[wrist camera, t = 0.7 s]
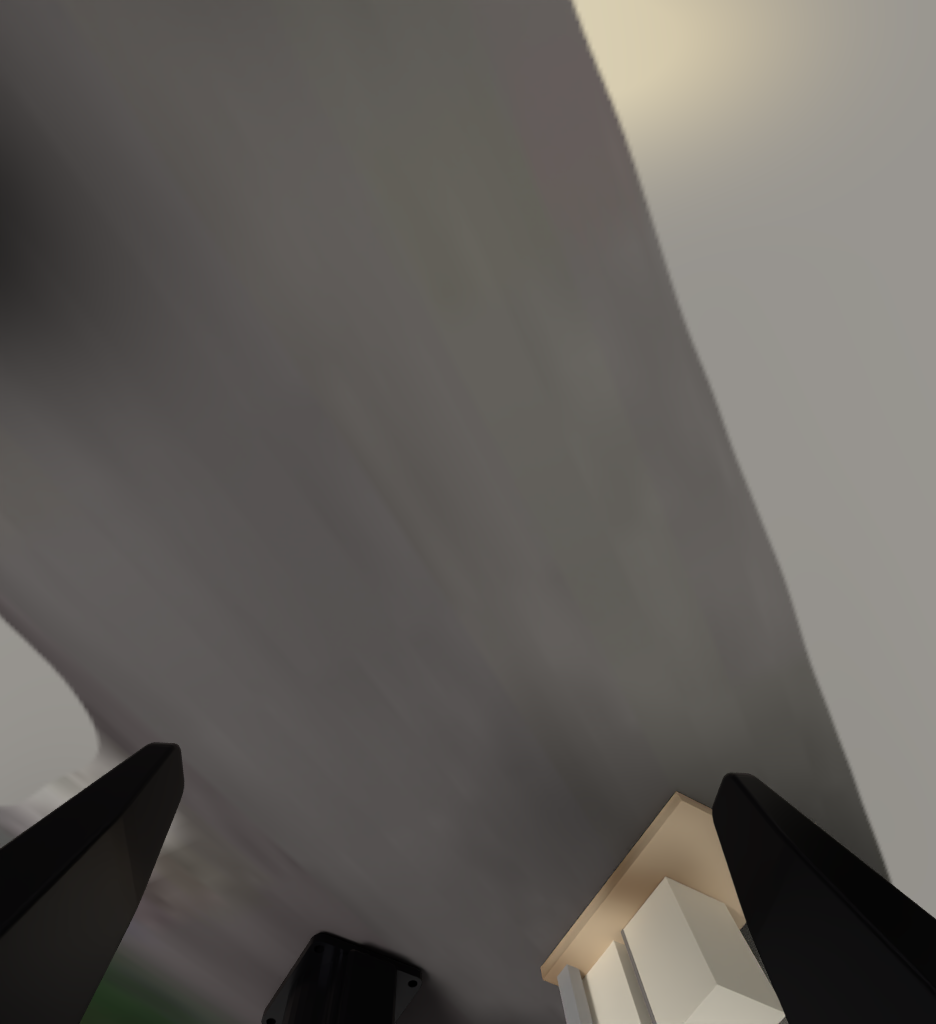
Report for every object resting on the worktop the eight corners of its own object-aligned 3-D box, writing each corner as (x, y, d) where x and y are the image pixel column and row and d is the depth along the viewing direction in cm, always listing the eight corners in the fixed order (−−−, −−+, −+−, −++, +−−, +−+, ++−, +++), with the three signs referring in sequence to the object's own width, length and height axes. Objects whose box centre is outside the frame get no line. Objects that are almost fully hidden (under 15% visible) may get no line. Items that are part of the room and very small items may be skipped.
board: (654, 1012, 30) (659, 1025, 29) (540, 967, 28) (542, 979, 28) (792, 848, 28) (800, 858, 27) (676, 791, 26) (681, 800, 26)
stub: (680, 957, 28) (733, 1078, 23) (620, 931, 27) (662, 1051, 22) (725, 903, 27) (789, 1016, 22) (664, 876, 27) (717, 986, 22)
